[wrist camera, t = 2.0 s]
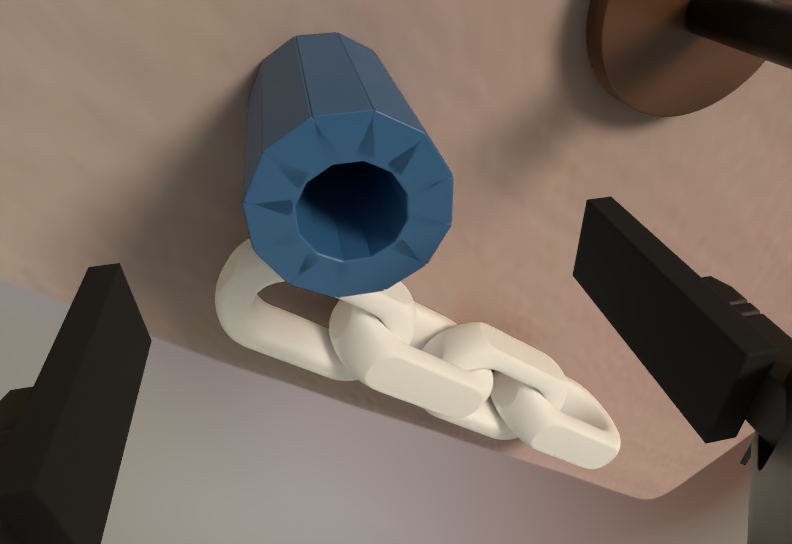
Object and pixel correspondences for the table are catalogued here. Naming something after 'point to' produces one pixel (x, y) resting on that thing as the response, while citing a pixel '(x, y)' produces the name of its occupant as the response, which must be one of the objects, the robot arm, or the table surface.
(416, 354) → the chain
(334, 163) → the towel roll
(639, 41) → the stand base
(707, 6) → the stand post
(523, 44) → the table surface
